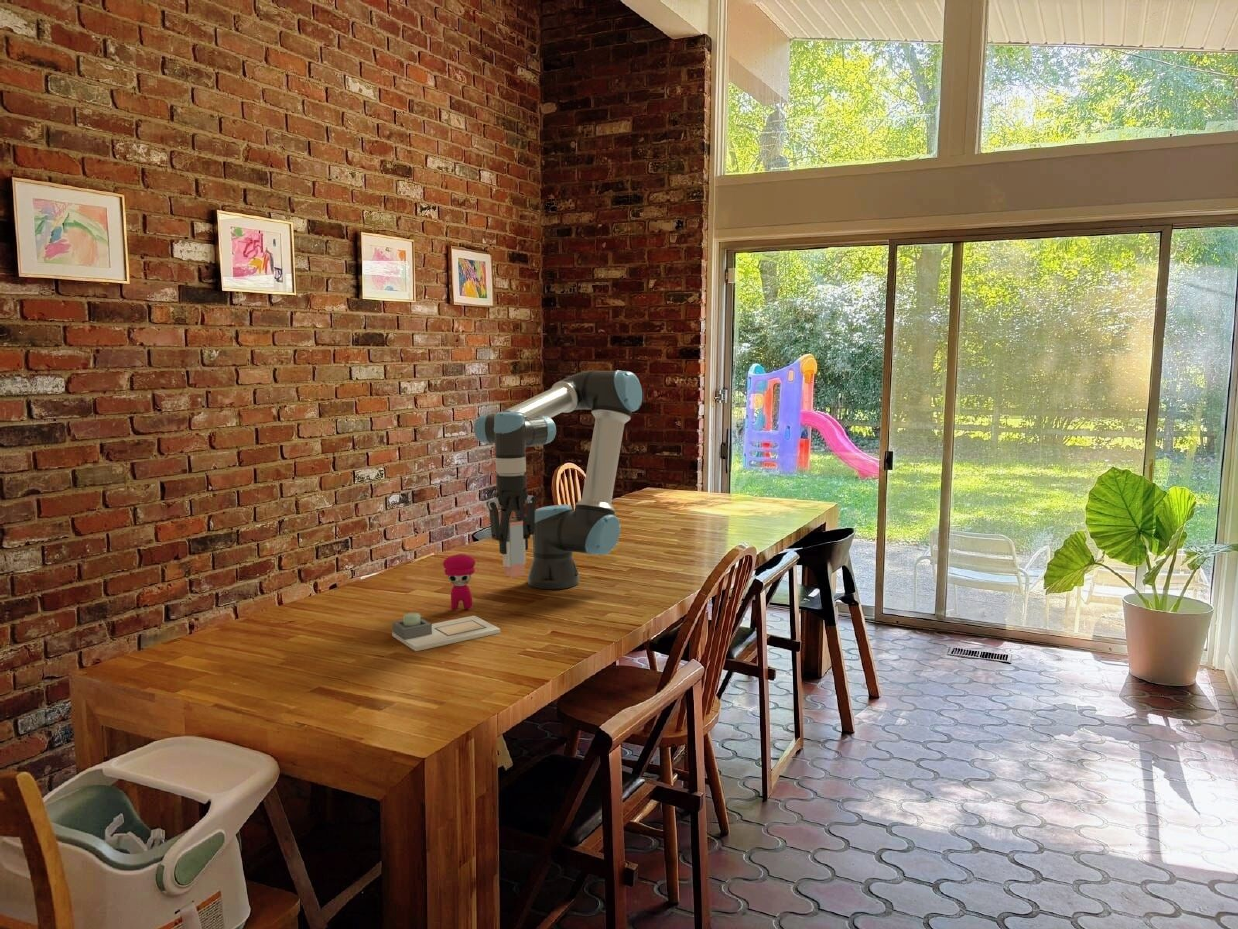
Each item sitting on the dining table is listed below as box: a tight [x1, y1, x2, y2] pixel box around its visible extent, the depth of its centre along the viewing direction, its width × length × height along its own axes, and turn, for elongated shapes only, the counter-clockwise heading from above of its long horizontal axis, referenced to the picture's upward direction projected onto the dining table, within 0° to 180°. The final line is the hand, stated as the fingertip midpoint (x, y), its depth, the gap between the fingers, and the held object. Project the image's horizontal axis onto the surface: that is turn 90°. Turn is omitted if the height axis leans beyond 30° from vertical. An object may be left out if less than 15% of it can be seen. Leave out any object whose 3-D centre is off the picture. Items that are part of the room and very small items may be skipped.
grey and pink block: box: [504, 518, 526, 578], centre depth 224 cm, size 4×4×14 cm
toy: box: [442, 553, 476, 610], centre depth 234 cm, size 8×8×15 cm
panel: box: [391, 615, 501, 652], centre depth 214 cm, size 22×14×4 cm, turn 126°
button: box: [402, 612, 421, 628], centre depth 212 cm, size 4×4×3 cm
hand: (514, 564), depth 224 cm, fingers closed on grey and pink block, 4 cm apart
